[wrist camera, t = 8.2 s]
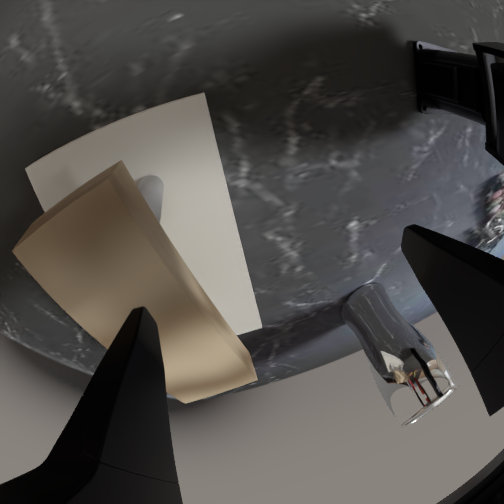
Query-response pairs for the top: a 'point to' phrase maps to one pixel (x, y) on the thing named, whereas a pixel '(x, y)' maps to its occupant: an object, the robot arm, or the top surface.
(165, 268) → the maple board
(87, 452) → the robot arm
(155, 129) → the peg stand
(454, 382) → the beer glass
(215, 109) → the top surface
